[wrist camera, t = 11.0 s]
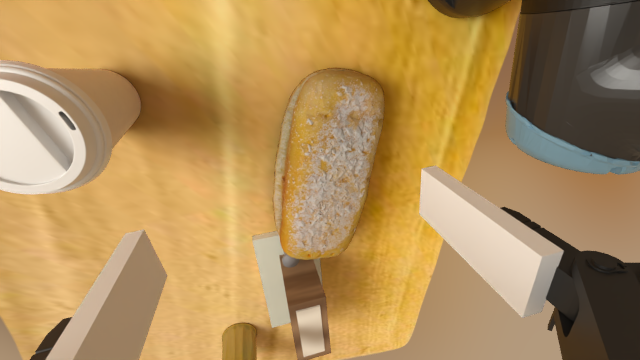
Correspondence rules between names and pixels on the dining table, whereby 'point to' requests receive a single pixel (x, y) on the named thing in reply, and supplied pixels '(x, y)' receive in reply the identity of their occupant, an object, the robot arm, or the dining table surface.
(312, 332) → the brown block
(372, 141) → the bread
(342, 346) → the dining table surface
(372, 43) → the dining table surface
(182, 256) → the dining table surface
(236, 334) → the vase
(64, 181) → the coffee cup
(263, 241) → the white board with pegs
